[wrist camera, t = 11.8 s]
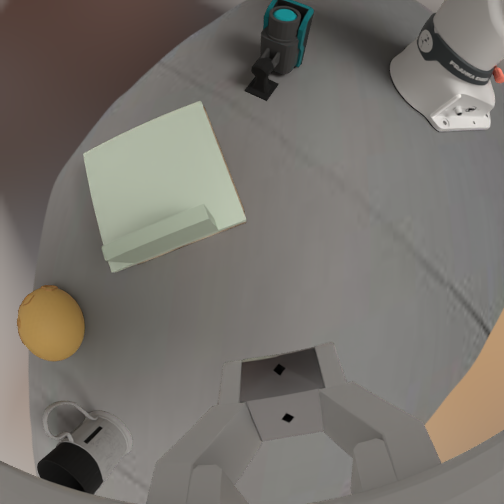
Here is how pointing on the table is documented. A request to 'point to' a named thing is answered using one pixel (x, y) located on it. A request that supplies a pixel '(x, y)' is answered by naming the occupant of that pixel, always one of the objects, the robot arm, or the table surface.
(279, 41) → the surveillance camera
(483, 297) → the table surface
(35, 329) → the stress ball
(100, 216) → the lid
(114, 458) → the glass holder
